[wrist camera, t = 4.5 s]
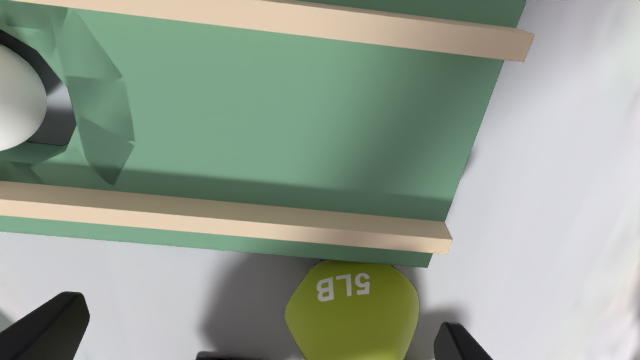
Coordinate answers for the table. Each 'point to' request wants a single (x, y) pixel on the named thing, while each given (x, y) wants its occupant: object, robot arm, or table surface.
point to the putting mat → (259, 122)
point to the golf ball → (19, 99)
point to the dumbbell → (353, 312)
